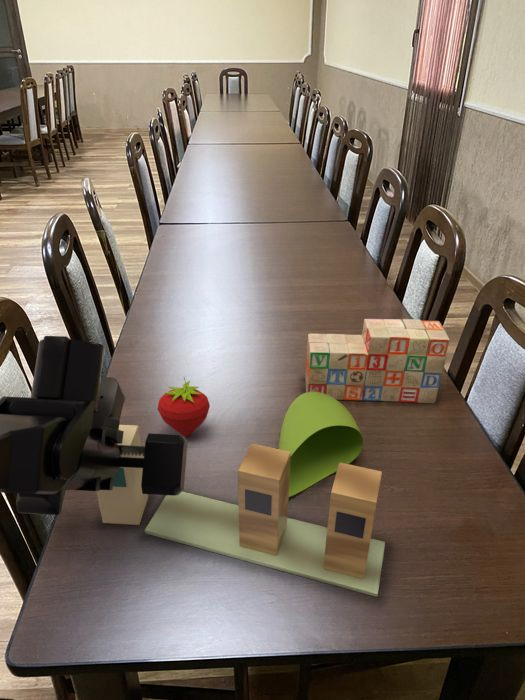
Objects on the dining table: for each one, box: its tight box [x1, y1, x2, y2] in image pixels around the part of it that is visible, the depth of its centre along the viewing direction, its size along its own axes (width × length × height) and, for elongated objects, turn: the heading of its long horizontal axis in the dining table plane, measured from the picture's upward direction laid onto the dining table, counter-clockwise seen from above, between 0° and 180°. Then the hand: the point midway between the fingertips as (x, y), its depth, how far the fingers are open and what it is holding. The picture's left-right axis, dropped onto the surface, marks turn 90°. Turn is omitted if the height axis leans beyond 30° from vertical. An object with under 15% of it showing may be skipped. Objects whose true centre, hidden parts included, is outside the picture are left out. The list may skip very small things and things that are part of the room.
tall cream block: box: [95, 424, 149, 526], centre depth 65 cm, size 5×5×12 cm
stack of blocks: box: [304, 318, 450, 404], centre depth 88 cm, size 21×6×12 cm, turn 88°
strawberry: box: [157, 376, 211, 437], centre depth 78 cm, size 6×8×10 cm
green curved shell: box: [278, 392, 364, 498], centre depth 76 cm, size 8×12×20 cm
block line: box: [144, 443, 386, 598], centre depth 61 cm, size 7×28×13 cm, turn 73°
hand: (119, 463), depth 65 cm, fingers open, 9 cm apart
